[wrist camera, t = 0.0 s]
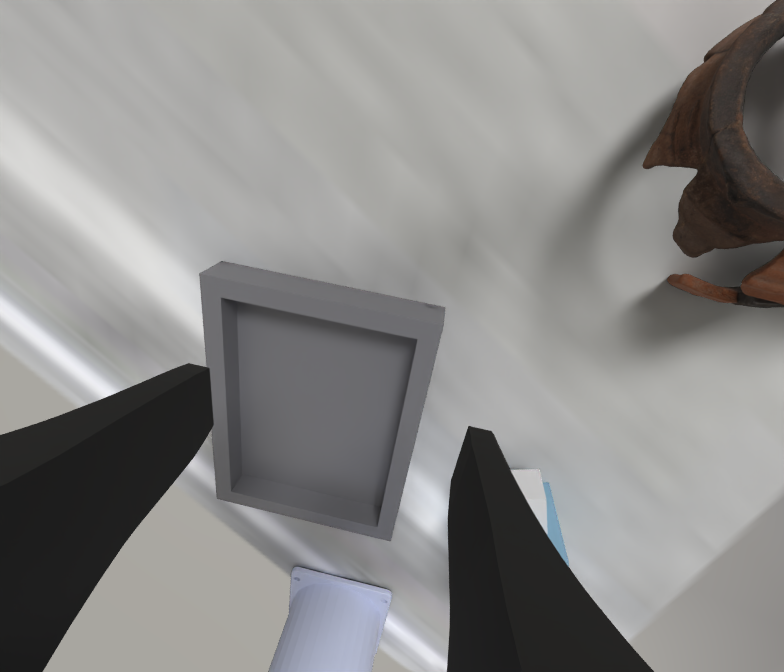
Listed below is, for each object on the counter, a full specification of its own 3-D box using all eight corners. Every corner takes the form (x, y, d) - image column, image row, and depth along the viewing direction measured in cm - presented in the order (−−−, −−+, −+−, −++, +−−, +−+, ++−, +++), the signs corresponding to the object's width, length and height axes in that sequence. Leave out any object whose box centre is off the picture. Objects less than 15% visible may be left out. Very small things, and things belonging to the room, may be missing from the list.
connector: (551, 560, 27) (568, 644, 23) (484, 559, 28) (488, 639, 24) (547, 449, 23) (568, 525, 18) (469, 451, 24) (471, 525, 19)
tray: (395, 514, 27) (390, 541, 25) (232, 475, 28) (216, 498, 26) (445, 307, 20) (443, 324, 18) (221, 261, 20) (199, 273, 19)
